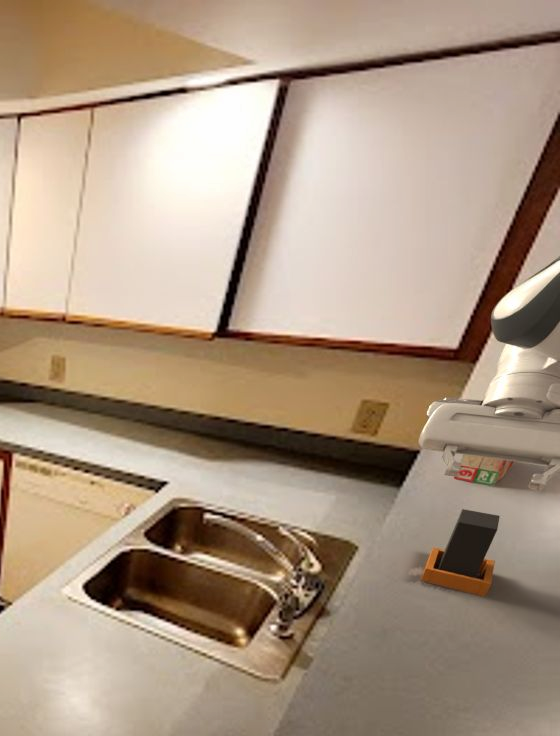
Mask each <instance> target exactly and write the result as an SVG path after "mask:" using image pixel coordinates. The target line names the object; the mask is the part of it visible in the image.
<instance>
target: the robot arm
mask: <svg viewBox="0 0 560 736" xmlns="http://www.w3.org/2000/svg"><path fill="white" fill-rule="evenodd" d="M490 325H491V331H492V333H493V336H494V338H495V340H496V341H497V342H499V343H503V344H505V345H504V347H503V349H502V352H501V353H500V356H499V359H498V361H497V364H496V374H495V376H494V377H493V378H492V380H491V381H490V382H489V384H488V387H487V389H486V391H485V394H484V397H483V399H481V400H480V399H469V398H468V399H466V398H465V399H462V398H456V397H445V398H443V399H439V400H435V401H433V402H432V403H431V404H429V406H428V409H427V412H426V417H427V419H428V420H427V421H426V423H425V425H424V427H423V428H422V431H421V432H420V435H419V438H418V442H417V443H418V445H419V446H420V448H421V449H422V450H428V451H429V450H430V451H435V452H436V451H437V452H443V453H442V456H441V457H442V460H443V461H444V464H445V466H446V467H447V468H446V470H445V472H444V476H449V477H454V476H455V477H457V474H458V472H459V470H460V467H461V464H462V463H460V462H457V461H456V459H455V456H456V454H459V455H471V456H479V457H486V458H493V459H501V460H508V461H515V462H516V463H523V464H524V463H525V464H530V465H531V464H532V465H539V466H545V467H546V469H545V472H543V473H534V474H533V475H532V476H531V478H530V481H529V484H528V486H527V488H528V489H533V490H540V491H542V490H543V489H544V487H545V486H546V483H547V481H549V480H550V479H552V478H553V477H555V476H557V475H558V474H559V473H560V255H559V256H558V257H556V258H555V259H554V260H552V261H551V262H550V263H549V264H548V265H546V266H545V267H543V268H541V269H540V270H538V271H537V272H536V273H534V274H533V275H531V276H529V277H528V278H526V279H525V280H524V281H522V282H521V283H519V284H518V285H516V286H515V287H514V288H512V289H511V290H509V292H507V293H506V294H505V295H504V296H503V297H502V298H500V300H499V301H498V302H497V303H496V305H495V306H494V308H493V310H492V312H491V316H490Z"/></svg>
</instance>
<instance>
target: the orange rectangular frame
mask: <svg viewBox="0 0 560 736" xmlns="http://www.w3.org/2000/svg"><path fill="white" fill-rule="evenodd" d="M444 551H445V549H442V548H437V547H432V549H431V551H430V554H429V557H428V558H427V561H426V564H425V567H424V570H423V572H422V575H421V579H420V582H425V583H429V584H433V585H437V586H441V587H445V588H449V589H453V590H457V591H461V592H465V593H470V594H474V595H478V596H482V597H486V595H487V593H488V591H489V588H490V587H491V585H492V579H493V575H494V570H495V569H494V568H495V563H496V561H495V560H493V559H489V558H488V559H487V558H484V560H483V562H482V564H481V567H480V569H479V571H478V573H479V574H481V575H480V578H477V577H475V578H473V577H469V576H464V575H460V574H456V573H451V572H447V571H443V570H438V568H435V565H436V564H439V563H440V561H441V558H442V556H443V554H444Z"/></svg>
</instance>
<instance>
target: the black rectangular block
mask: <svg viewBox="0 0 560 736" xmlns="http://www.w3.org/2000/svg"><path fill="white" fill-rule="evenodd" d="M500 517H501V515H497V514H492V513H486V512H480V511H476V510H470V509H464V508H462V509H461V511H460V514H459V516H458V519H457V521H456V523H455V525H454V527H453V530H452V532H451V535H450V536H449V540H448V542H447V544H446V547H445V548H444V550H445V551H444V554H443V556H442V558H441V561H440V563H438V565H437V569H438V570H443V571H447V572H451V573H456V574H460V575H464V576H469V577H473V578H477V575H478V573H479V572H478V571H479V569H480V567H481V564H482V562H483V560H484V559H486V555H487V554H488V551H489V549H490V547H491V544H492V543H493V540H494V538H495V536H496V534H497V532H498V529H499V524H500V523H499V522H500Z"/></svg>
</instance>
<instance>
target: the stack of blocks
mask: <svg viewBox="0 0 560 736" xmlns="http://www.w3.org/2000/svg"><path fill="white" fill-rule="evenodd" d="M459 463H462V464H461V467H460V470H459V472H458V474H457V477H455V476H453V479H455V480H459V481H460V480H461V481H464V482H465V481H466V482H470V483H477V484H482V485H487V486H495V485H496V484H497V483H498V482H499V481H500V480H501V479H502V478H503V477H504V476H505V475H506V473H507V472H508V471H509V469H510V468H512V467H513V466H514V465H515V464H516V463H517V462H515V461H508V460H501V459H493V458H486V457H479V456H471V455H464V454H462V458H461V461H460V462H459ZM506 465H507V466H506ZM505 467H506V469H505V471H504V468H505ZM503 471H504V472H503Z"/></svg>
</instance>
